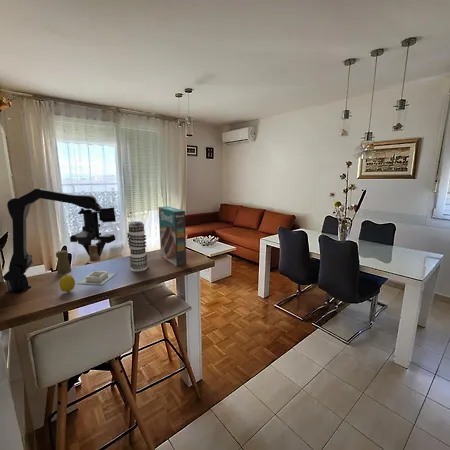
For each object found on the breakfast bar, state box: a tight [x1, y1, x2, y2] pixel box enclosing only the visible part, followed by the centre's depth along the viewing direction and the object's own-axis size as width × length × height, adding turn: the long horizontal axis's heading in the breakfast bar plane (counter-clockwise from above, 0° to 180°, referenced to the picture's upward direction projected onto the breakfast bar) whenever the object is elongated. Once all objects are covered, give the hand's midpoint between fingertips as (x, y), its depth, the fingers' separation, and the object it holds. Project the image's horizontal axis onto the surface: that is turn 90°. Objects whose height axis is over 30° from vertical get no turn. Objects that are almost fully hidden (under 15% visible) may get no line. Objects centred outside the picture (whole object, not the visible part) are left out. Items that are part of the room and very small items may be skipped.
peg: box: [88, 243, 101, 263], centre depth 115 cm, size 4×4×7 cm
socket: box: [76, 270, 117, 286], centre depth 118 cm, size 12×12×2 cm
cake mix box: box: [158, 205, 187, 267], centre depth 142 cm, size 22×6×30 cm, turn 36°
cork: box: [55, 250, 72, 275], centre depth 125 cm, size 6×6×11 cm
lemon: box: [58, 274, 76, 293], centre depth 104 cm, size 6×6×8 cm
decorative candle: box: [126, 220, 148, 272], centre depth 129 cm, size 9×9×25 cm
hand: (94, 255), depth 115 cm, fingers closed on peg, 4 cm apart
